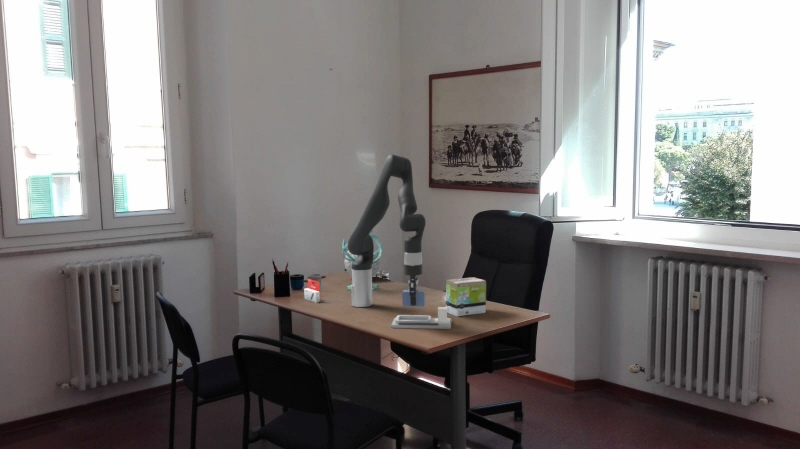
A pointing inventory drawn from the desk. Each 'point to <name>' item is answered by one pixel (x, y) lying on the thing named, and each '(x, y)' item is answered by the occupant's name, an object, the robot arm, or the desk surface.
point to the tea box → (465, 296)
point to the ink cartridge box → (312, 291)
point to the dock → (423, 321)
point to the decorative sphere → (349, 263)
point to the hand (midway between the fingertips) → (413, 303)
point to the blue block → (419, 298)
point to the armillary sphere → (374, 286)
